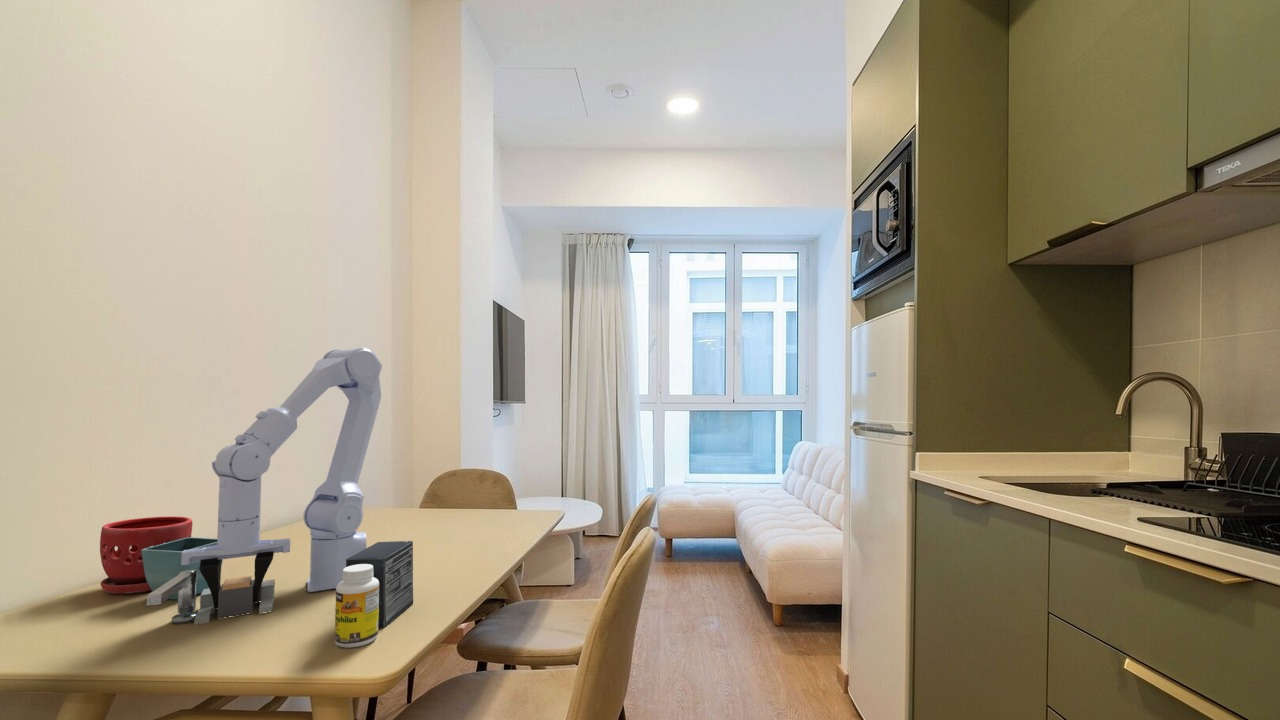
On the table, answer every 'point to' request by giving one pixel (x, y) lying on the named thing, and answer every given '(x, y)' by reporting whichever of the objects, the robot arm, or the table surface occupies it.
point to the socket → (208, 607)
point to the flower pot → (173, 562)
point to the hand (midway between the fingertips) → (236, 602)
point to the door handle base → (184, 617)
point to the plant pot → (135, 549)
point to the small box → (390, 576)
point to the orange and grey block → (236, 597)
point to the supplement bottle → (357, 607)
